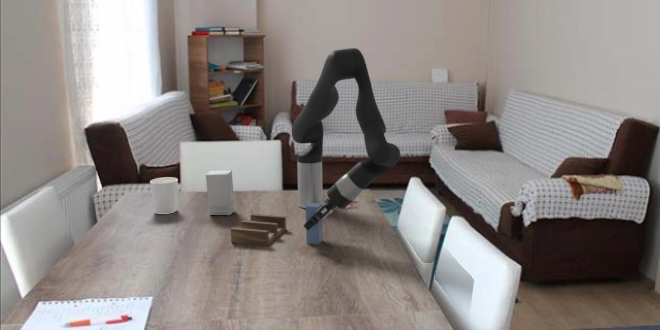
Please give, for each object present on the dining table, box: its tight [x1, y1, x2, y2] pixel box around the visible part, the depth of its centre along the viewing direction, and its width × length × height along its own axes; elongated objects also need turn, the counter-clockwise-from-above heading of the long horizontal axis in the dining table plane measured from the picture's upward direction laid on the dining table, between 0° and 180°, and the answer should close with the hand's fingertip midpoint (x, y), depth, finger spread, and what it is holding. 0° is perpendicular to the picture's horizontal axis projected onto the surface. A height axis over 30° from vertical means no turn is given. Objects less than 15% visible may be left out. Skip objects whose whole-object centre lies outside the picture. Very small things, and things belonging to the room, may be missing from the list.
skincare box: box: [205, 170, 236, 216], centre depth 212 cm, size 8×7×16 cm
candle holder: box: [149, 176, 179, 213], centre depth 216 cm, size 10×10×12 cm
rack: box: [230, 213, 287, 247], centre depth 189 cm, size 16×12×4 cm
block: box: [305, 203, 324, 246], centre depth 182 cm, size 4×4×12 cm
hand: (310, 224), depth 183 cm, fingers open, 7 cm apart
